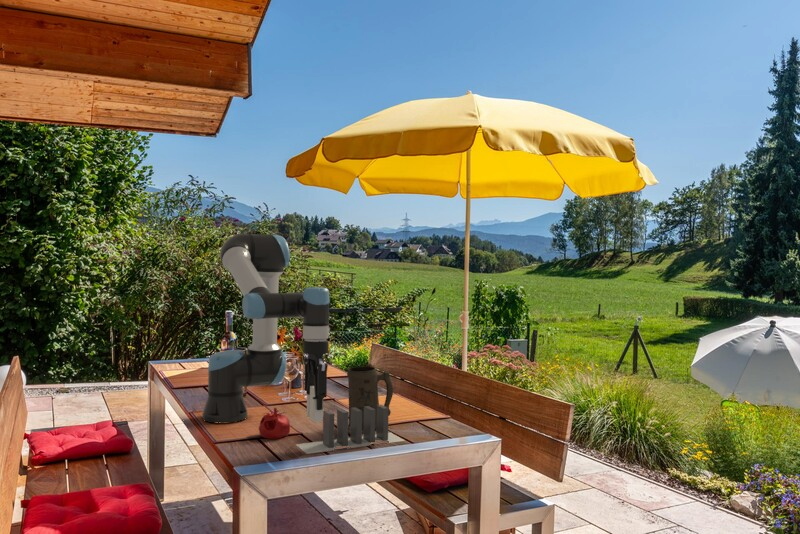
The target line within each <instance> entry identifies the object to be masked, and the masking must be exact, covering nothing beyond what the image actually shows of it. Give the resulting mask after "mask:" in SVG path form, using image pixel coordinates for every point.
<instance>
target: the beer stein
mask: <svg viewBox="0 0 800 534" xmlns="http://www.w3.org/2000/svg"><path fill="white" fill-rule="evenodd" d="M346 376H347V379H348V383H347V385H348V429H350V421H351V408H354V407H356V408H358V409H360V410H361V411H362V432H364V406H370V407H372V408H374V409H376V411H375V430H377V405H380V401H379V388H378V387H379V386H378V383H379V382H380V381H384V382H385V387H386V394H385V400H384V403H383V406H385V407H387V408H389V414H388V417H389V416H391V414H392V411H391V409H390V404H391V402H392V399H393V395H394V387H393V383H392V381H391V376H390V372H389V371H383V373H380V374H378V372H377V368H376V367H373V366H353V367H350V368H347V373H346Z"/></svg>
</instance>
